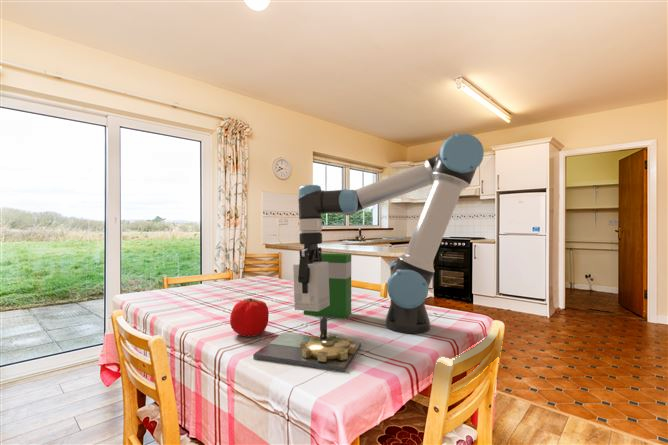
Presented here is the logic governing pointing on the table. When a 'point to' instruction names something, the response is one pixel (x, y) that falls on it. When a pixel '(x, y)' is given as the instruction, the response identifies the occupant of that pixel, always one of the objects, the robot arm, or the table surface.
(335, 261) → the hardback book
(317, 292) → the supplement box
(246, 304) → the tomato
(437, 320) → the table surface
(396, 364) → the table surface
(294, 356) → the plate
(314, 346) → the sprocket
